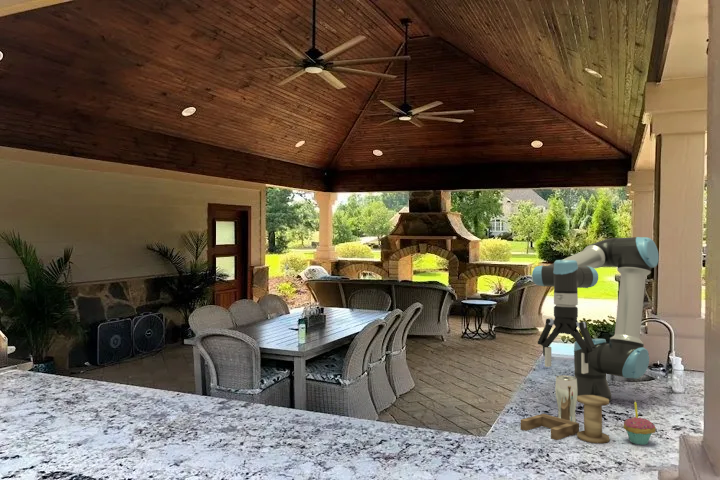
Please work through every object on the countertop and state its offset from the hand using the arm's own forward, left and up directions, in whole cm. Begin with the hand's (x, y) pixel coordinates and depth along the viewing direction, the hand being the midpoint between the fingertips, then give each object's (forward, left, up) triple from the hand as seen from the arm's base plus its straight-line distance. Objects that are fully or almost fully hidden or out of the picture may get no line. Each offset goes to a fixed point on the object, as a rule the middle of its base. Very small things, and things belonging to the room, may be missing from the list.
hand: (565, 369), depth 179 cm
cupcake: (-1, +24, -18) cm, 30 cm away
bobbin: (+8, +14, -18) cm, 24 cm away
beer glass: (0, 0, -18) cm, 18 cm away
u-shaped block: (+12, +2, -18) cm, 22 cm away
